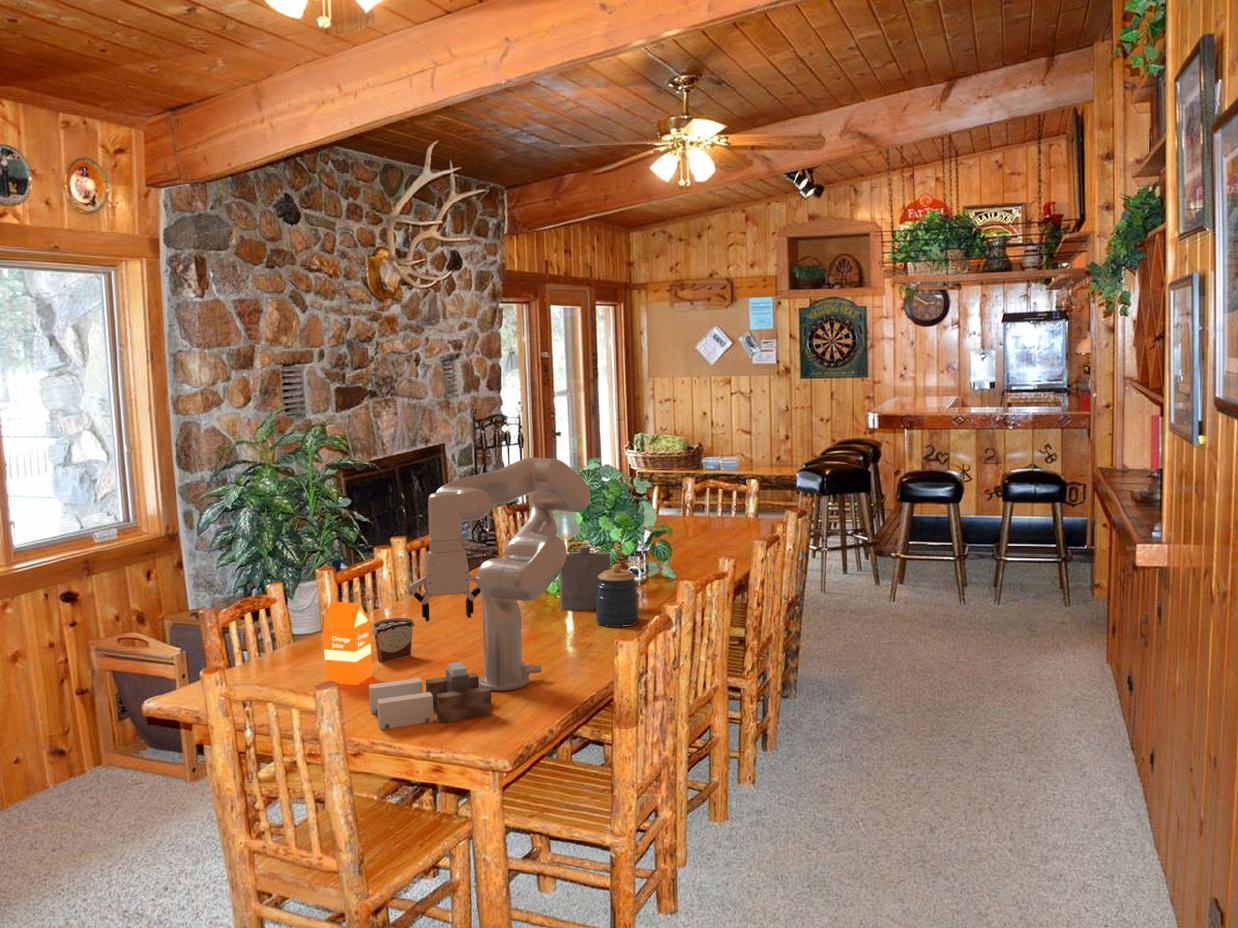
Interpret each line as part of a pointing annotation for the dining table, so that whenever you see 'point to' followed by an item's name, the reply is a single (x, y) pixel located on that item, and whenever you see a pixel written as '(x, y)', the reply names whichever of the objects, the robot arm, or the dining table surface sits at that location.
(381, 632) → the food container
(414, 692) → the dock
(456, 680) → the plug
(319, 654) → the dining table surface
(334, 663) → the orange juice
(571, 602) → the hip flask
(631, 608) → the canister
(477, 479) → the robot arm
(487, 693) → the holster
